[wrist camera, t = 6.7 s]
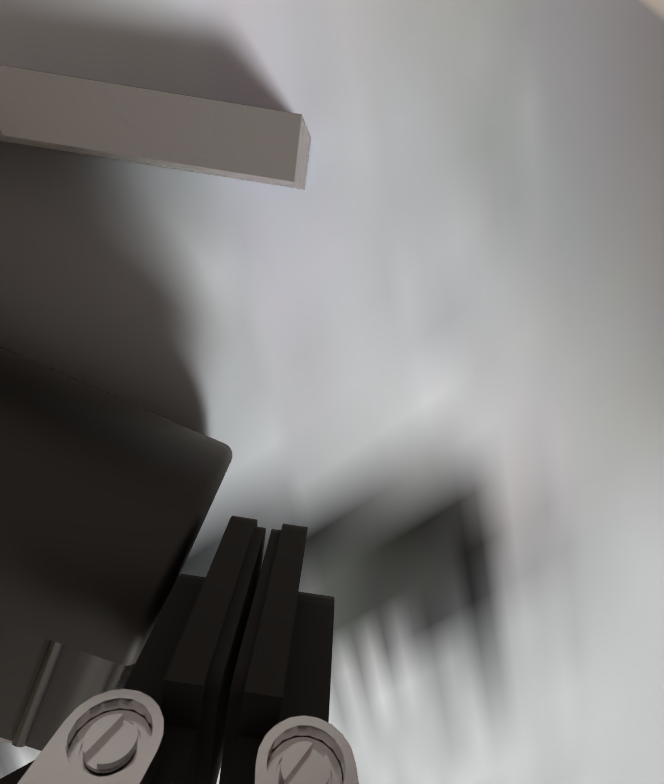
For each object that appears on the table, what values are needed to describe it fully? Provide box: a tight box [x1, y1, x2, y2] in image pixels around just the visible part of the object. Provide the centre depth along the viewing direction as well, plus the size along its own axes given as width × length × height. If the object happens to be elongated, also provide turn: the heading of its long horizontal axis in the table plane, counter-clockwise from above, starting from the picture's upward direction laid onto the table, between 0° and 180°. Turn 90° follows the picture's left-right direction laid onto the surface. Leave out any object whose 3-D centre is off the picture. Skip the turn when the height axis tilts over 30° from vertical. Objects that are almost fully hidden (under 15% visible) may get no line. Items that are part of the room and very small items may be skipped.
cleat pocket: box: [0, 65, 311, 768], centre depth 14 cm, size 12×18×3 cm, turn 172°
